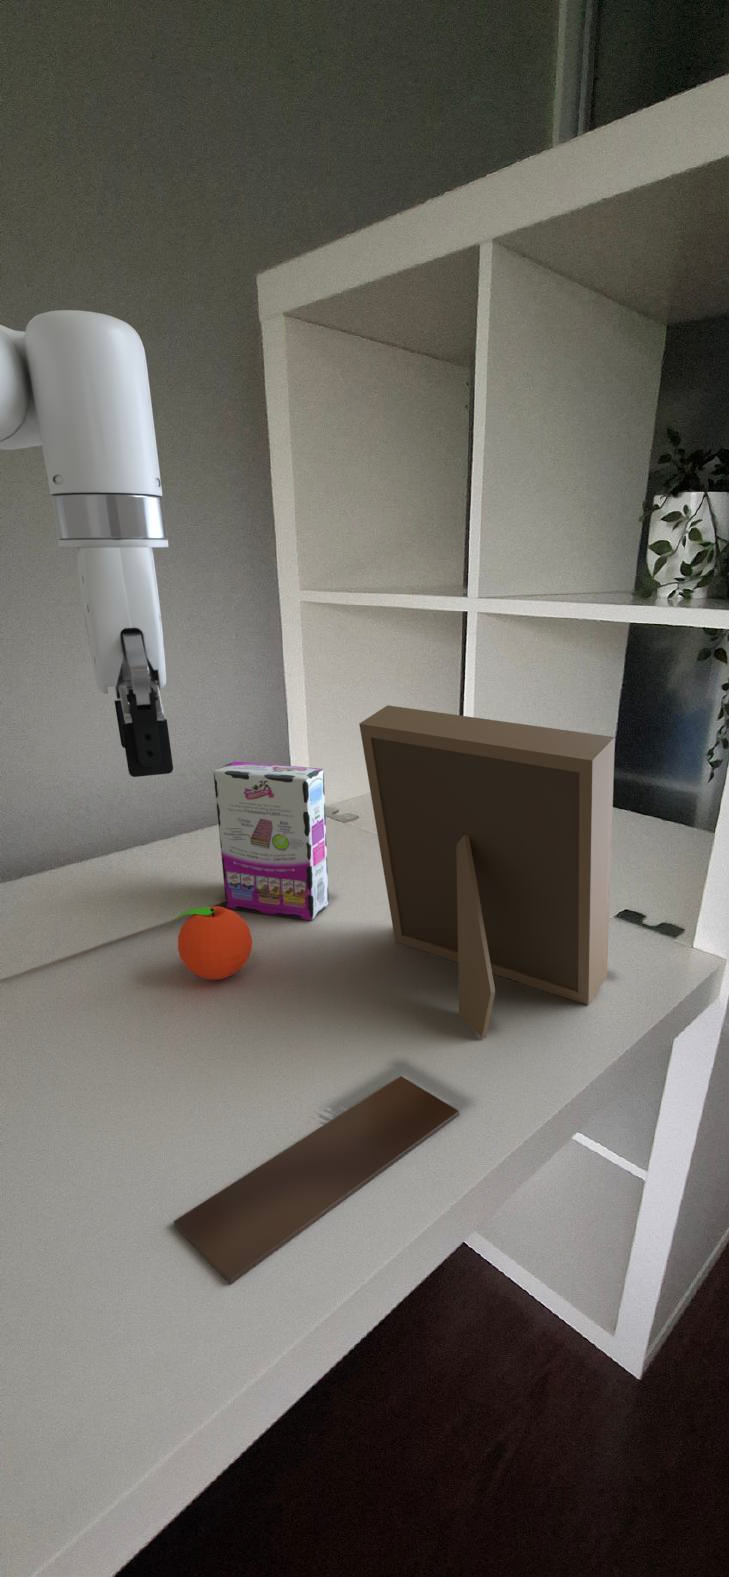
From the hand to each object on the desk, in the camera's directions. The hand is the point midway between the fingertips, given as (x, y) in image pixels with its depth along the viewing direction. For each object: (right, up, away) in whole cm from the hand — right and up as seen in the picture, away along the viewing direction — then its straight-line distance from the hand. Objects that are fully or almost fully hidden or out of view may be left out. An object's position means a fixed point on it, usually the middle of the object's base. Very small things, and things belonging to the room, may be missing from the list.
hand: (146, 759), depth 63 cm
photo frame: (+27, -20, +12) cm, 35 cm away
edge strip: (+16, -29, -10) cm, 35 cm away
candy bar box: (+6, -13, +27) cm, 31 cm away
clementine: (+2, -19, +13) cm, 23 cm away
